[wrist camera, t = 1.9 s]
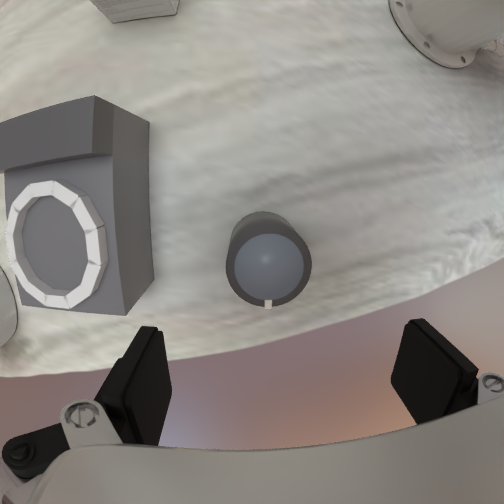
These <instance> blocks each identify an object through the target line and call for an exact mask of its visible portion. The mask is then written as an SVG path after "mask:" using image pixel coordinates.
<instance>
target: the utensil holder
mask: <svg viewBox="0 0 504 504" xmlns="http://www.w3.org/2000/svg"><path fill="white" fill-rule="evenodd" d="M16 325H17V311H16V305H15V300H14V296H13V293H12V290H11V287H10V285H9V283H8V280H7V278H6V276H5V274H4V273H3V271H2V269H1V268H0V347H1V346H3V345H4V344H5V343H6V342H7V341H8V340H9V339H10V338H11V337H12V336H13V334H14V332H15V330H16Z"/></svg>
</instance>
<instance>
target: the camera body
mask: <svg viewBox="0 0 504 504" xmlns="http://www.w3.org/2000/svg"><path fill="white" fill-rule="evenodd" d="M148 149H149V122H148V121H146V120H144V119H142V118H140V117H138V116H136V115H134V114H132V113H130V112H128V111H126V110H124V109H122V108H120V107H118V106H116V105H114V104H112V103H110V102H108V101H106V100H103V99H101V98H99V97H97V96H95V95H94V96H89V97H85V98H80V99H76V100H72V101H68V102H64V103H60V104H57V105H53V106H49V107H46V108H43V109H39V110H36V111H33V112H30V113H27V114H24V115H21V116H18V117H15V118H12V119H9V120H7V121H4V122H1V123H0V173H4V177H5V201H6V214H7V225H6V230H5V232H6V233H5V237H6V244H7V251H8V257H9V262H11V263H10V265H11V267H12V269H13V270H14V272H15V276H16V281H17V286H18V290H19V295H20V299H21V303H22V305H26V306H33V307H41V308H49V309H57V310H66V311H75V312H86V313H97V314H109V315H122V316H126V315H127V314H128V312H129V311H130V310H131V308H132V307H133V306H134V304H135V303H136V302H137V301H138V299H139V298H140V297H141V295H142V294H143V293H144V292H145V290H146V289H147V288H148V286H149V285H150V284H151V283H152V281H153V280H154V272H153V261H152V248H151V232H150V213H149V176H148Z"/></svg>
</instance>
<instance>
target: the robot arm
mask: <svg viewBox="0 0 504 504" xmlns="http://www.w3.org/2000/svg"><path fill="white" fill-rule="evenodd" d="M389 2H390V8H391V11H392V14H393V17H394V18H395V20H396V22H397V24H398V26H399V27H400V29H401V30H402V32H403V33H404V35H405V36H406V37H407V38H408V39H409V41H410V42H411V43H412V44H413V45H414V46H415V47H416V48H417V49H418V50H419V51H421V52H422V53H423V54H424V55H426V56H427V57H428V58H430V59H431V60H433V61H434V62H436V63H438V64H441V65H443V66H446V67H449V68H461V67H465V66H467V65H469V64H470V63H471V62H473V60H474V58H475V56H476V52H477V50H478V49H480V48H481V49H483V50H487V49H488V50H489V51H490V52H492V53H494V54H496V55H497V56H499V57H502V56H504V46H503V45H502V44H500V43H498V42H497V41H495V40H496V39H498V38H501V37H504V0H389ZM478 370H479V369H478V368H477V367H476V366H475V365H474V364H473V363H472V362H471V361H470V360H469V359H468V358H467V357H465V356H464V355H463V354H462V353H461V352H460V351H459V350H458V349H457V348H456V347H455V346H453V345H452V344H451V343H450V342H449V341H448V340H447V339H446V338H445V337H444V336H443V335H441V334H440V333H439V332H438V331H437V330H436V329H435V328H434V327H433V326H431V325H430V324H429V323H428V322H427V321H426V320H425V319H423V318H421V319H413V320H410V321H409V322H408V324H406V325H405V327H404V331H403V336H402V340H401V343H400V347H399V351H398V355H397V358H396V362H395V365H394V369H393V372H392V375H391V384H392V386H393V388H394V389H395V391H396V392H397V394H398V395H399V397H400V398H401V400H402V401H403V403H404V405H405V406H406V407H407V409H408V411H409V412H410V414H411V416H412V417H413V419H414V420H415V422H416V423H417V425H415V426H411V427H408V428H404V429H400V430H395V431H391V432H387V433H383V434H379V435H374V436H369V437H364V438H358V439H353V440H347V441H341V442H334V443H327V444H319V445H311V446H302V447H290V448H278V449H277V448H276V449H252V450H220V449H194V448H178V447H164V446H158V443H159V439H160V436H161V432H162V429H163V425H164V421H165V417H166V414H167V410H168V406H169V403H170V399H171V395H172V386H171V381H170V375H169V370H168V363H167V357H166V350H165V343H164V336H163V332H162V331H158V328H157V327H150V326H141V328H140V329H139V331H138V332H137V334H136V336H135V337H134V339H133V341H132V342H131V344H130V346H129V347H128V349H127V351H126V352H125V354H124V356H123V357H122V358H119V359H118V360H117V361H116V363H115V364H114V366H113V368H112V370H111V371H110V373H109V375H108V376H107V378H106V380H105V381H104V383H103V385H102V386H101V388H100V390H99V392H98V394H97V395H96V397H95V399H94V400H90V399H79V400H75V401H72V402H70V403H68V404H67V405H66V406H65V407H64V408H63V409H62V411H61V414H60V421H61V423H58V424H55V425H52V426H49V427H46V428H43V429H40V430H37V431H34V432H30V433H27V434H24V435H20V436H17V437H14V438H13V439H10V440H9V441H8V442H6V444H5V445H4V447H3V450H2V457H1V458H0V504H504V377H503V376H501V375H499V374H496V373H491V372H488V373H484V374H482V375H481V376H480V377H479V379H477V378H476V375H477V373H478Z"/></svg>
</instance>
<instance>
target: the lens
mask: <svg viewBox="0 0 504 504" xmlns="http://www.w3.org/2000/svg"><path fill="white" fill-rule="evenodd" d="M311 268H312V262H311V256H310V252H309V250H308V247H307V245H306V244H305V242H304V241H303V240H302V238H301V237H300V236H299V235H298V234H297V233H296V232H295V231H294V229H293V228H292V227H291V226H290V225H289V224H288V223H287V222H286V221H285V220H284V219H283V218H282V217H280V216H278V215H276V214H274V213H270V212H256V213H252V214H250V215H248V216H246V217H244V218H243V219H242V220H241V221H239V223H238V224H237V225H236V226H235V228H234V230H233V232H232V235H231V239H230V244H229V249H228V255H227V260H226V274H227V278H228V281H229V283H230V285H231V287H232V289H233V290H234V291H235V293H236V294H237V295H238V296H239V297H241V298H242V299H243V300H245V301H247V302H249V303H251V304H253V305H257V306H262V307H265V308H264V309H265V310H272V307H273V306H278V305H282V304H285V303H287V302H289V301H291V300H292V299H294V298H295V297H296V296H297V295H298V294H299V293H300V292H301V291H302V290H303V289H304V287H305V286H306V284H307V282H308V280H309V277H310V274H311Z"/></svg>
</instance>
